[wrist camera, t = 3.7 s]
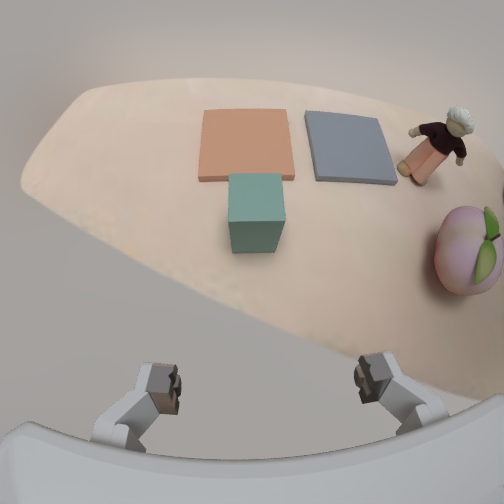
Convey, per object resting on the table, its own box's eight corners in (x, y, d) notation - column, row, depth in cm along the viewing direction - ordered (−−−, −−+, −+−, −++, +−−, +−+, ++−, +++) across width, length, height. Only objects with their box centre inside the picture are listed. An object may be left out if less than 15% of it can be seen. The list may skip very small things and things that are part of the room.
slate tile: (374, 123, 33) (377, 118, 32) (394, 185, 30) (398, 181, 29) (304, 115, 32) (305, 110, 31) (316, 180, 29) (318, 175, 28)
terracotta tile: (284, 114, 32) (285, 109, 31) (293, 180, 29) (294, 175, 28) (205, 115, 32) (204, 110, 31) (199, 181, 29) (198, 176, 28)
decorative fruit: (460, 314, 25) (522, 299, 16) (410, 291, 26) (472, 267, 16) (469, 243, 28) (521, 213, 18) (423, 217, 29) (473, 175, 19)
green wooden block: (272, 214, 28) (281, 173, 21) (274, 252, 27) (285, 220, 20) (232, 214, 28) (228, 173, 21) (232, 253, 27) (228, 221, 20)
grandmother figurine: (390, 176, 30) (443, 108, 18) (389, 153, 31) (435, 84, 19) (439, 195, 30) (498, 141, 18) (437, 172, 31) (488, 116, 19)
